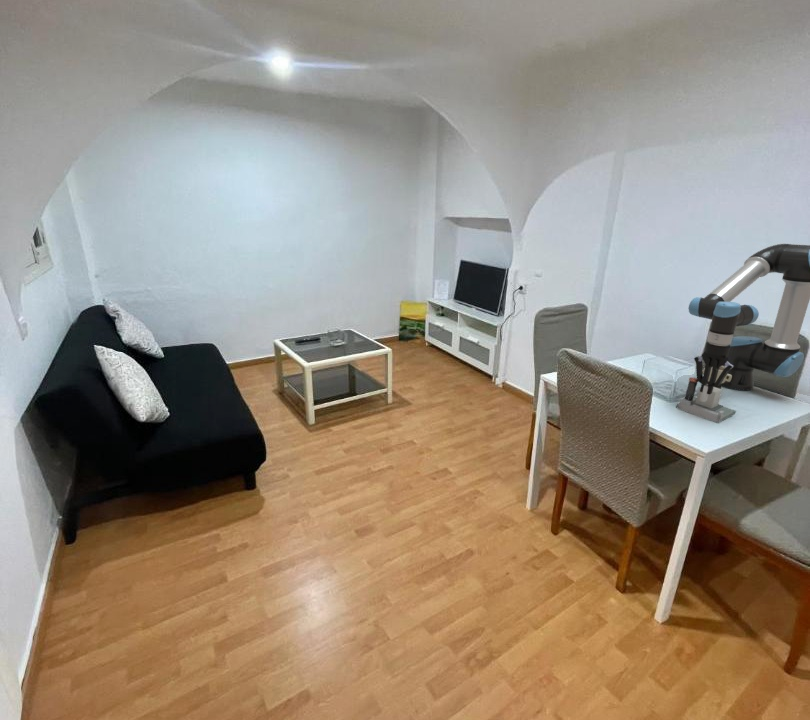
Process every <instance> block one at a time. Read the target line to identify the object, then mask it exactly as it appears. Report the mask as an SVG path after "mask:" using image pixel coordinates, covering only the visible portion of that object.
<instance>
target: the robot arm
mask: <svg viewBox="0 0 810 720" xmlns="http://www.w3.org/2000/svg"><path fill="white" fill-rule="evenodd" d="M771 273H773V274H774V273H777V274H782V279H781V280H782V281H783V282H784V283H785V285H784V289H783V292H782V296H781V299H780V302H779V307H778V310H777V314H776V318H775V321H774V324H773V328H772V331H771V335H770V338H769V339H767V340H765V341H764V342H763V338H761V337H757V336H748V335H747V336H745V335H741V336H740V335H738V336H734V335H735V331H736V327H740V326H748V325H751V324H753V323H755V322H756V321H757V320H758V319H759V314H760V313H759V310H758V308H756V307H755V306H754V305H752V304H741V303H738V302H733V300H734V299H735V298H736V297H738V296H739V295H740V294H741V293H742V292H743V291H745V290H746V289H747V288H748V287H750V286H751V285H752V284H753V283H755V282H756V281H757V280H758V279H759V278H762V277H765V276H767V275H768V274H771ZM809 303H810V244H794V243H793V244H791V243H779V244H774V245H771V246H768V247H765V248H763V249H761V250H759V251H757V252H755V253H754V254H752V255H751V256H749V257H748V258H747V259H746V260H744V262H743V266H741V267H740V268H738V269H737V271H735V272H733V273H732V274H731V275H730V276H729V277H728V278H726V280H724V281H723V282H722V283H721V284H720V285H718V286H716V288H714V289H713V290H712V291H711V292H710V293H709V294H707V295H706V296H705V297H694V298H692V299H691V301H689V304H688V313H689V314H690V315H691V316H695V317H699V318H704V319H707V320H711V323H710V328H709V330H708V334H707V337H706V338H707V339H706V341H707V342H706V343H705V347H704V349H703V350H704V352H703V353H702V354H701V355H697V356H695V357H694V358H693V359H694V361H695V369H696V370H695V371H696V378H697V383H700V384H701V385H700V387H701V389H700V392H702V396H701V400H700V401H702V402H705V401H707V399H708V395H710V394H711V393H712V391H713V387H717V386H719V385H720V384H721V387H724V388H726V389H729V390H730V389H731V390H735V391H741V392H742V391H751V390H752V391H753V388H754V386H755V382H754V370H758V371H762V372H765V373H769V374H772V375H773V376H780V377H783V378H787V377H790V376H792V375H794V374H795V373H796V371H798V370H799V368H800V367H801V365H802V364H803V362H804V360H805V354H804V353H803V352H801V351H800V349H801V345H800V344H799V343H798V340H799V339H798V338H799V336H800V332H801V329H802V326H803V323H804V319H805V316H806V314H807V310H808V306H809ZM703 363H704V365H705V366H703ZM721 366H724V367H725V369H724V370H723V371H722V373H721V374H720V376H719V378H718V379H717V381H716V378H717V374H718V370H719V368H720V367H721ZM703 367H704V368H705V370H704V375H703V369H704V368H703ZM712 367H713V368H712ZM711 368H712V373H711V377H710V381H709V384H707V383H708V379H709V375H710V371H711ZM727 374H730V375H732V378H731V381H730V382H728V381H725V382H724V383H722V381H723V380H724V378H725V376H726V375H727ZM728 378H729V376H727V377H726V379H728ZM715 381H716V382H715Z"/></svg>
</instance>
